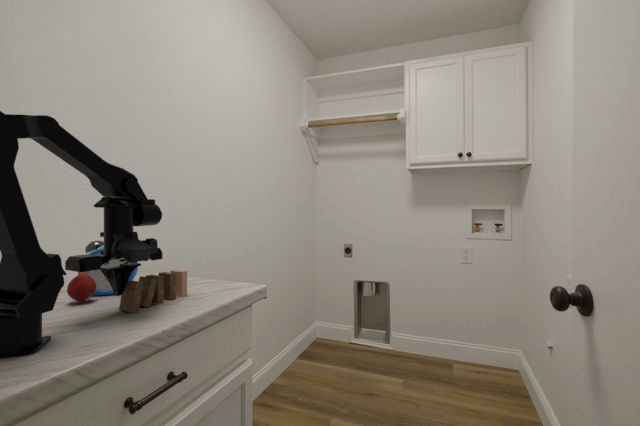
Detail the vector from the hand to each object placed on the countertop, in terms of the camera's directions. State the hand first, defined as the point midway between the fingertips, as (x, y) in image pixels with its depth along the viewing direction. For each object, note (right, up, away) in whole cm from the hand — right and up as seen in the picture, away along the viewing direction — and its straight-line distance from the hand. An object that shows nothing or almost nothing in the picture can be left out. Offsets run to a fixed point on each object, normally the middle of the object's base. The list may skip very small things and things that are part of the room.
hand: (119, 295), depth 71 cm
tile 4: (+5, -4, +12) cm, 13 cm away
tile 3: (+4, -4, +8) cm, 10 cm away
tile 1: (+2, -4, +1) cm, 4 cm away
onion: (-14, -4, +8) cm, 17 cm away
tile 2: (+2, -4, +5) cm, 7 cm away
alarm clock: (-13, -4, +16) cm, 22 cm away
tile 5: (+7, -4, +15) cm, 17 cm away
